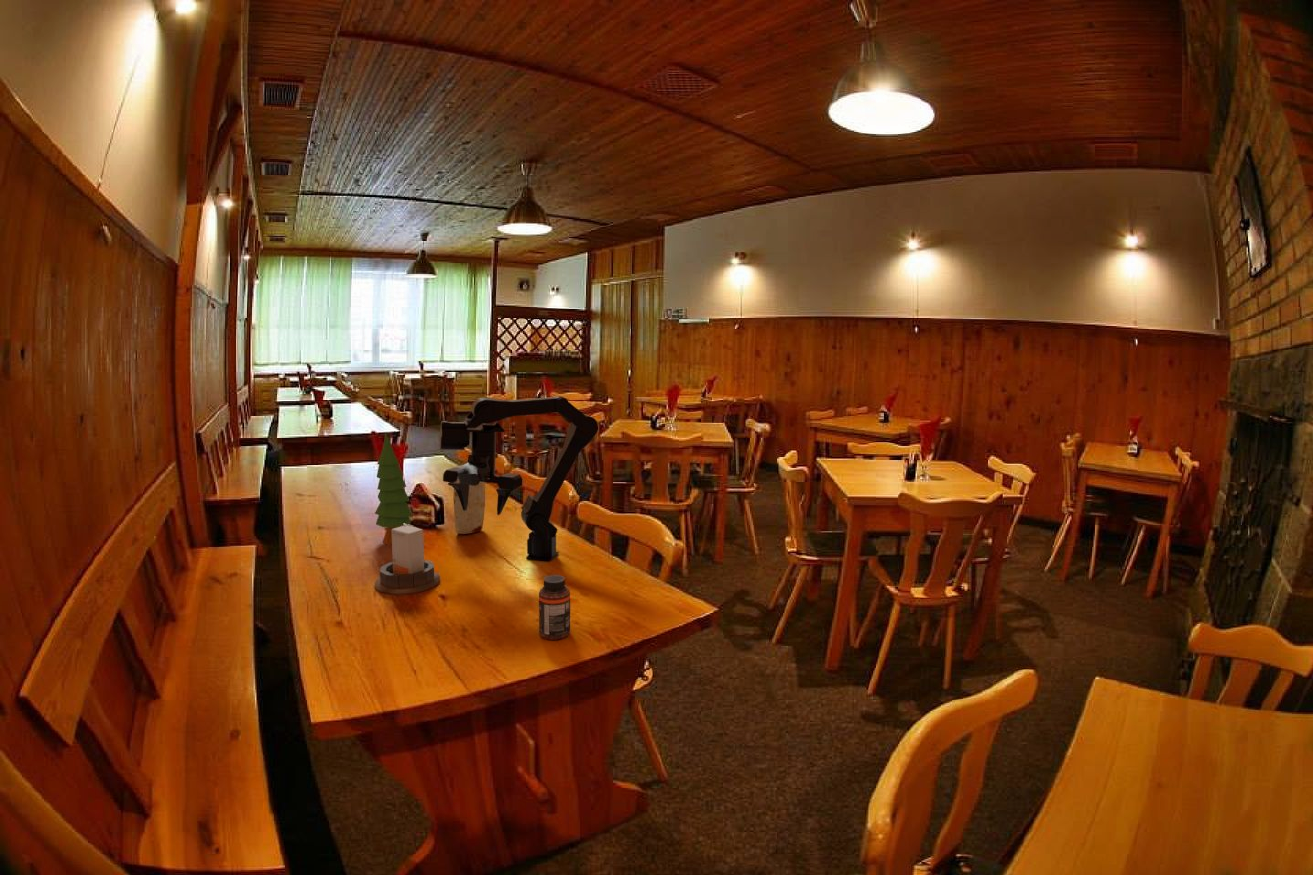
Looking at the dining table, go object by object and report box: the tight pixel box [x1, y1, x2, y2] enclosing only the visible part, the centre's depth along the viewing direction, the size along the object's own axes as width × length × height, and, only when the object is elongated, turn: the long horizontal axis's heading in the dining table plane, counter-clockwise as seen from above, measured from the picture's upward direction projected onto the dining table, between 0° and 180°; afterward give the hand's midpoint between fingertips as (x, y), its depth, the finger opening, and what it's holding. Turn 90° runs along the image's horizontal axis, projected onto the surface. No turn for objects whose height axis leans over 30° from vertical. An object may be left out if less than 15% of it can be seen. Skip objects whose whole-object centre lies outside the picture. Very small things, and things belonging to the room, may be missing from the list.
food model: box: [452, 464, 486, 535], centre depth 197 cm, size 10×7×20 cm
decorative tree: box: [374, 432, 413, 546], centre depth 187 cm, size 10×9×30 cm
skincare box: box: [391, 524, 425, 574], centre depth 158 cm, size 6×4×12 cm
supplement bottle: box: [538, 574, 571, 641], centre depth 133 cm, size 6×6×11 cm
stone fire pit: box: [374, 559, 441, 596], centre depth 158 cm, size 14×14×4 cm
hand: (481, 512), depth 171 cm, fingers open, 9 cm apart
